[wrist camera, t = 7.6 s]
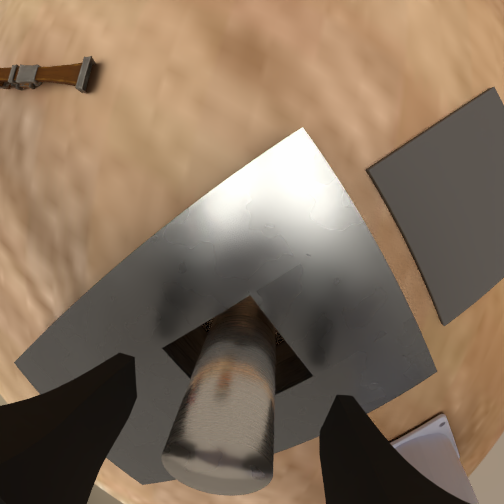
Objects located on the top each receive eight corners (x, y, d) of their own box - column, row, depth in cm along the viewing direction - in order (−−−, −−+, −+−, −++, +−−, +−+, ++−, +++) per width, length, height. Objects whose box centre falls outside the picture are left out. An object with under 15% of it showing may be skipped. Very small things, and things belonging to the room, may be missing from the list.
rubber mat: (542, 232, 13) (546, 234, 13) (441, 323, 15) (444, 326, 15) (490, 88, 11) (494, 86, 11) (365, 169, 13) (368, 170, 13)
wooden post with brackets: (-1, 72, 12) (-31, 60, 8) (101, 73, 15) (90, 54, 11) (-8, 97, 12) (-40, 90, 8) (95, 100, 15) (81, 88, 11)
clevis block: (408, 330, 15) (437, 371, 11) (157, 447, 20) (142, 484, 16) (294, 138, 13) (302, 127, 9) (47, 333, 17) (14, 362, 14)
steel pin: (285, 326, 16) (291, 484, 7) (236, 347, 16) (203, 499, 7) (258, 278, 15) (235, 427, 6) (206, 303, 16) (139, 447, 6)
